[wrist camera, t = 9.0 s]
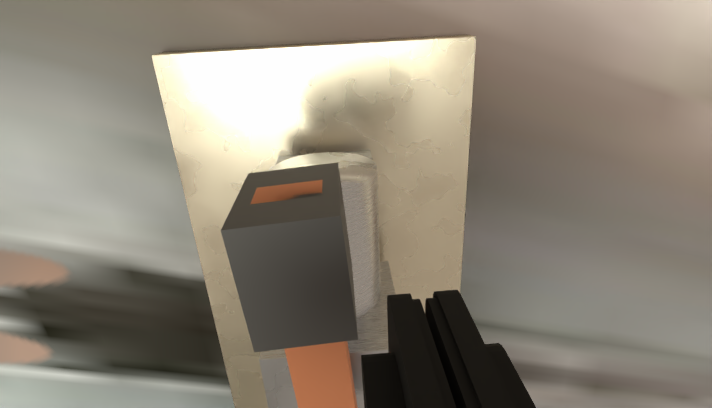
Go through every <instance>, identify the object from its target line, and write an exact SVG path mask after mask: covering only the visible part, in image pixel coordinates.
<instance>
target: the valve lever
mask: <svg viewBox="0 0 712 408" xmlns="http://www.w3.org/2000/svg"><path fill="white" fill-rule="evenodd" d="M221 234H222V237H223V241H224V245H225V248H226V252H227V255H228V259H229V263H230V266H231V270H232V273H233V277H234V281H235V284H236V288H237V292H238V295H239V299H240V302H241V306H242V310H243V313H244V317H245V321H246V324H247V328H248V331H249V335H250V339H251V342H252V346H253V350H254V352H262V351H270V350H278V349H284V350H285V354H286V358H287V362H288V367H289V371H290V375H291V379H292V383H293V388H294V392H295V396H296V400H297V405H298V408H358V407H357V400H356V394H355V387H354V381H353V374H352V368H351V361H350V355H349V348H348V342H347V341H351V340H358V332H357V320H356V307H355V295H354V283H353V271H352V261H351V253H350V246H349V238H348V231H347V224H346V216H345V209H344V201H343V194H342V186H341V179H340V172H339V164H338V162H337V163H329V164H320V165H312V166H304V167H296V168H288V169H280V170H271V171H263V172H255V173H248V175H247V177H246V179H245V181H244V183H243V185H242V188H241V190H240V192H239V194H238V196H237V198H236V200H235V202H234V204H233V206H232V208H231V210H230V212H229V214H228V216H227V218H226V220H225V223H224V225H223V227H222V229H221Z"/></svg>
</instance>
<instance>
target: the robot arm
mask: <svg viewBox="0 0 712 408" xmlns="http://www.w3.org/2000/svg"><path fill="white" fill-rule="evenodd" d="M387 320H388V353H378V354H366V355H361V366H362V383H363V396H364V408H536V407H535V405H534V403H533V401H532V399H531V398H530V396H529V394H528V392H527V390H526V388H525V386H524V385H523V383H522V381H521V379H520V377H519V375H518V373H517V372H516V370H515V368H514V366H513V364H512V362H511V360H510V359H509V357H508V355H507V353H506V351H505V350H504V348H503V347H502V345H500V344H499V343H496V344H484V342H483V340H482V338H481V336H480V333H479V331H478V329H477V327H476V325H475V323H474V321H473V319H472V317H471V315H470V313H469V311H468V309H467V307H466V305H465V303H464V301H463V299H462V297H461V294H460V293H459V291H458V290H445V291H434V293H433V298H426V301H425V312H424V309H423V306H422V303H421V300H420V299H412V296H411V294H410V293H408V294H395V295H387Z"/></svg>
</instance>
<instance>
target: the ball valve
mask: <svg viewBox="0 0 712 408" xmlns="http://www.w3.org/2000/svg"><path fill="white" fill-rule="evenodd" d="M475 44H476V37H475V36H470V35H456V36H438V37H421V38H404V39H386V40H369V41H352V42H334V43H317V44H300V45H282V46H265V47H248V48H230V49H213V50H196V51H178V52H162V53H159V54H155V55H152V59H153V63H154V68H155V72H156V76H157V80H158V85H159V89H160V93H161V97H162V101H163V106H164V110H165V114H166V118H167V122H168V127H169V131H170V135H171V139H172V144H173V148H174V152H175V156H176V160H177V165H178V169H179V173H180V177H181V182H182V186H183V190H184V194H185V198H186V203H187V207H188V211H189V215H190V220H191V224H192V228H193V232H194V236H195V241H196V245H197V249H198V253H199V258H200V262H201V266H202V270H203V274H204V279H205V283H206V287H207V291H208V296H209V300H210V304H211V308H212V312H213V317H214V321H215V325H216V329H217V334H218V338H219V342H220V346H221V350H222V355H223V359H224V363H225V367H226V372H227V376H228V380H229V384H230V388H231V393H232V397H233V401H234V405H235V408H298V405H297V400H296V396H295V392H294V388H293V383H292V379H291V375H290V371H289V367H288V362H287V358H286V354H285V350H284V349H278V350H270V351H262V352H254V350H253V346H252V342H251V339H250V335H249V331H248V328H247V324H246V321H245V317H244V313H243V310H242V306H241V302H240V299H239V295H238V292H237V288H236V284H235V281H234V277H233V273H232V270H231V266H230V263H229V259H228V255H227V252H226V248H225V245H224V241H223V237H222V234H221V229H222V227H223V225H224V223H225V220H226V218H227V216H228V214H229V212H230V210H231V208H232V206H233V204H234V202H235V200H236V198H237V196H238V194H239V192H240V190H241V188H242V185H243V183H244V181H245V179H246V177H247V175H248V173H255V172H263V171H271V170H280V169H288V168H296V167H304V166H312V165H320V164H329V163H337V162H338V164H339V172H340V179H341V186H342V194H343V201H344V209H345V216H346V224H347V231H348V238H349V246H350V253H351V261H352V271H353V283H354V295H355V307H356V320H357V332H358V340H351V341H347V342H348V348H349V355H350V361H351V368H352V374H353V381H354V387H355V394H356V400H357V407H358V408H364V396H363V383H362V366H361V355H366V354H378V353H388V320H387V295H395V294H408V293H410V294H411V296H412V299H420V300H421V303H422V306H423V309H424V312H425V301H426V298H433V293H434V291H445V290H458V291H459V293H460V285H461V269H462V253H463V237H464V221H465V205H466V189H467V173H468V157H469V141H470V125H471V109H472V93H473V77H474V61H475Z"/></svg>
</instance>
